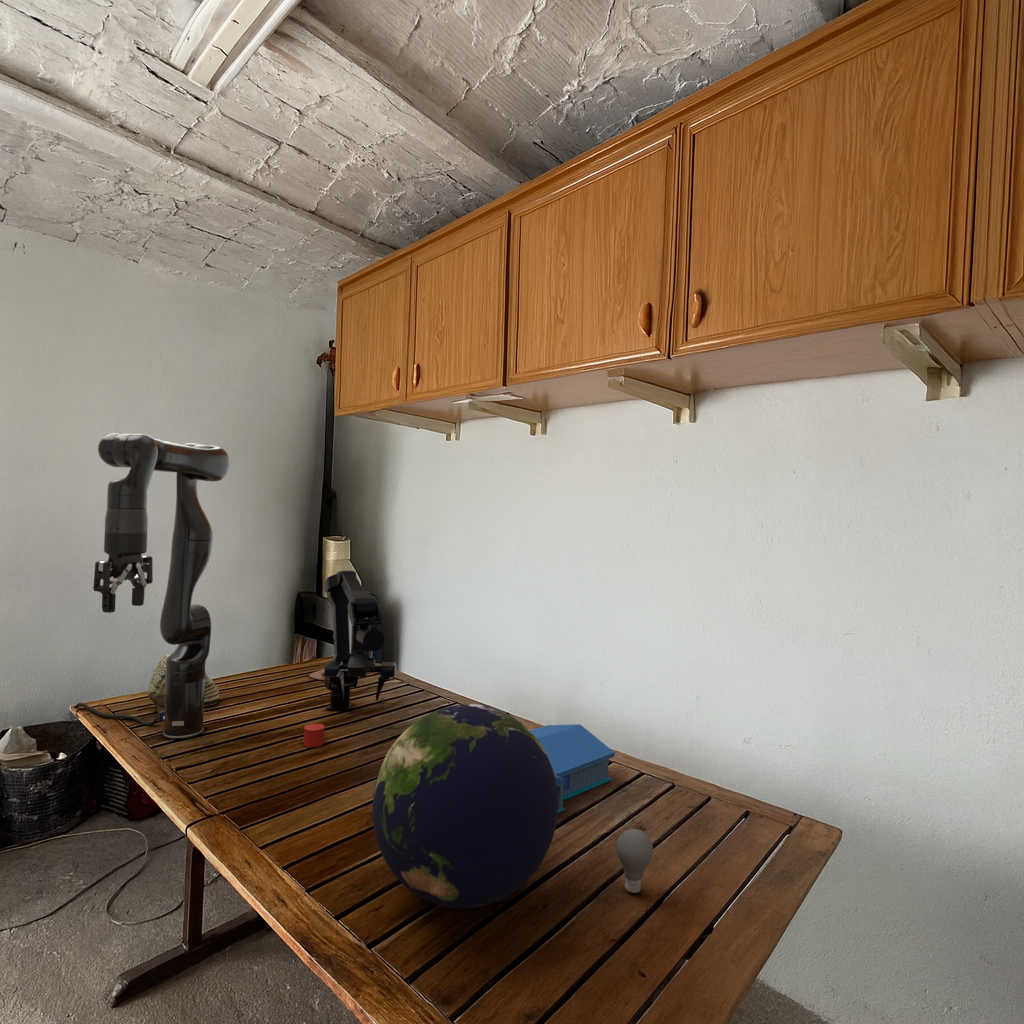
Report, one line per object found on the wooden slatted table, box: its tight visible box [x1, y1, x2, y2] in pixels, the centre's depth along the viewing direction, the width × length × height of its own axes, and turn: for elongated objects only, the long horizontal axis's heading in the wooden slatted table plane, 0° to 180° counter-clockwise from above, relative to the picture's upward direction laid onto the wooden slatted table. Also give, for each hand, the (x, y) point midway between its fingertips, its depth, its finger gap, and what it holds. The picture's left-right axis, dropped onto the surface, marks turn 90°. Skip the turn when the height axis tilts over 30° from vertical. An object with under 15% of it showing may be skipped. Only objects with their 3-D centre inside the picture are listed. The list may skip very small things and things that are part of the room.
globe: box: [371, 703, 559, 910], centre depth 103 cm, size 30×30×30 cm
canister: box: [303, 723, 325, 748], centre depth 162 cm, size 5×5×4 cm
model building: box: [529, 723, 615, 814], centre depth 141 cm, size 39×24×10 cm, turn 132°
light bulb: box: [615, 828, 654, 894], centre depth 106 cm, size 6×6×10 cm
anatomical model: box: [308, 668, 326, 681], centre depth 222 cm, size 13×4×12 cm
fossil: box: [147, 654, 221, 711], centre depth 185 cm, size 9×18×15 cm, turn 132°
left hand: (123, 608), depth 131 cm, fingers open, 8 cm apart
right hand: (359, 700), depth 173 cm, fingers open, 9 cm apart
